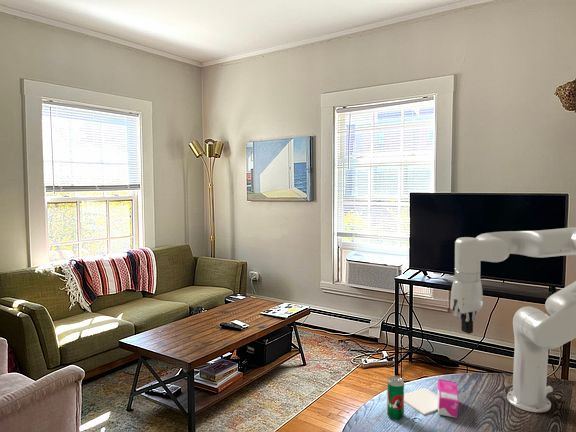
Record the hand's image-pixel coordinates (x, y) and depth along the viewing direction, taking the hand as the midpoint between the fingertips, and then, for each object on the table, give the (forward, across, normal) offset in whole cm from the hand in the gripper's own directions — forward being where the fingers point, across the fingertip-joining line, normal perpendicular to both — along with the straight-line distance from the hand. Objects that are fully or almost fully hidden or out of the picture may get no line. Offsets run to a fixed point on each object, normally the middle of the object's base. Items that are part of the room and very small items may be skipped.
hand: (467, 331), depth 143 cm
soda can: (+24, +26, -5) cm, 35 cm away
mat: (+24, +12, -7) cm, 27 cm away
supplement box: (+20, +4, -5) cm, 21 cm away
